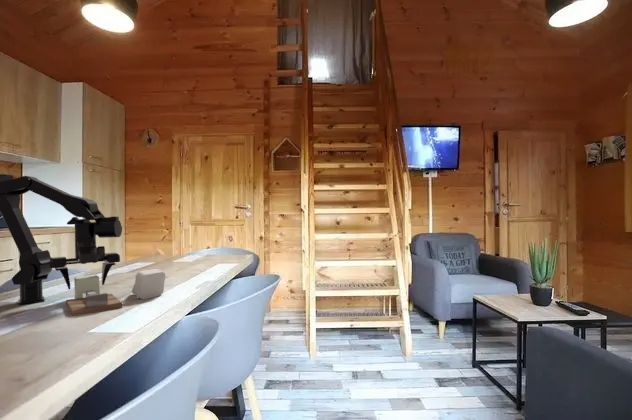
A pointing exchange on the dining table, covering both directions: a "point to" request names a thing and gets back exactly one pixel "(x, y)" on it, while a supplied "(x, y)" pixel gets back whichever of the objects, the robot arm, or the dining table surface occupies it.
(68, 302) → the cleat board
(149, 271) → the grey rounded block piece
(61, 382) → the dining table surface
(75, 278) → the block
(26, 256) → the robot arm
